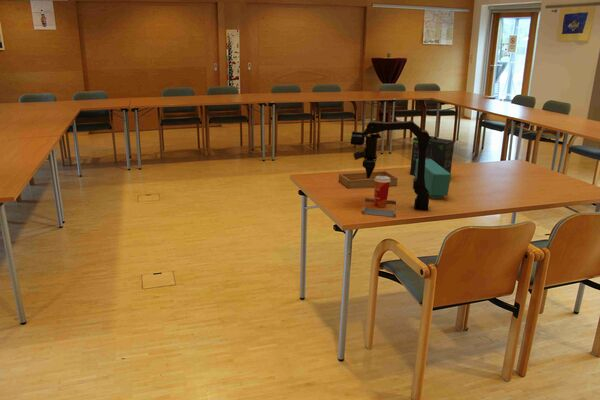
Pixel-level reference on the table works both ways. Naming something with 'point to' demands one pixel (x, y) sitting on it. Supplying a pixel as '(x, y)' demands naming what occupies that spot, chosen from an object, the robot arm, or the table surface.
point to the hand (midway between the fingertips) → (368, 176)
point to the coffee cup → (381, 190)
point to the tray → (364, 179)
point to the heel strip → (386, 202)
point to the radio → (435, 179)
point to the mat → (379, 212)
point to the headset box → (434, 153)
